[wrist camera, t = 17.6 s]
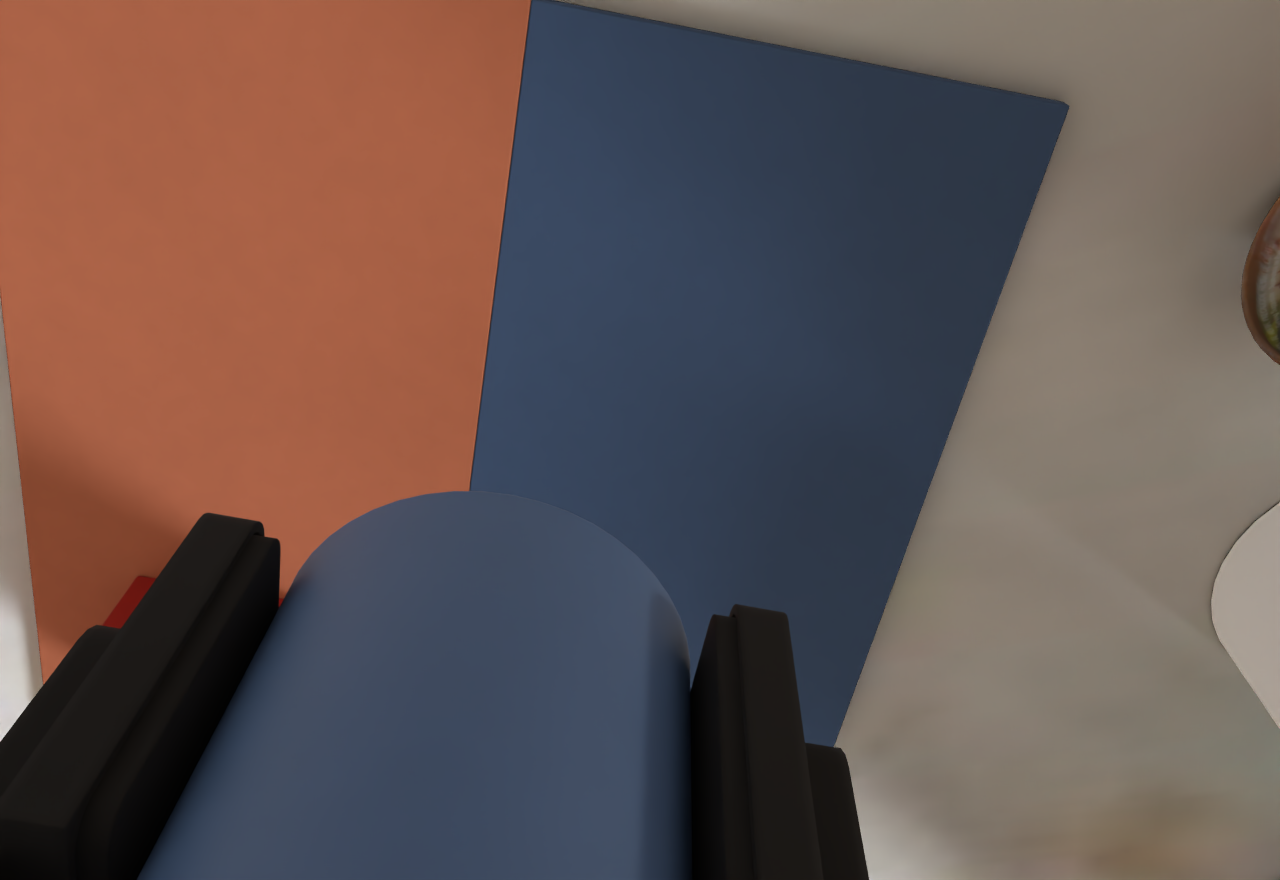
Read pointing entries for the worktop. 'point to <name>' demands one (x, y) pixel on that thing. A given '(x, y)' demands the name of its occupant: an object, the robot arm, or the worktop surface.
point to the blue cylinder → (452, 711)
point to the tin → (1264, 285)
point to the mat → (494, 290)
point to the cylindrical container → (1253, 608)
